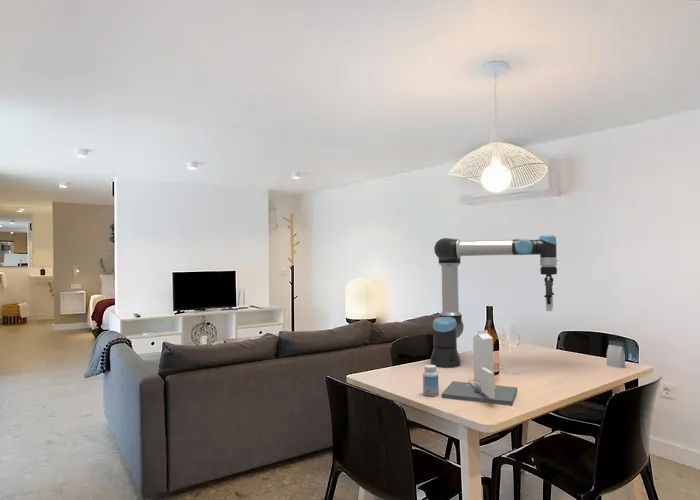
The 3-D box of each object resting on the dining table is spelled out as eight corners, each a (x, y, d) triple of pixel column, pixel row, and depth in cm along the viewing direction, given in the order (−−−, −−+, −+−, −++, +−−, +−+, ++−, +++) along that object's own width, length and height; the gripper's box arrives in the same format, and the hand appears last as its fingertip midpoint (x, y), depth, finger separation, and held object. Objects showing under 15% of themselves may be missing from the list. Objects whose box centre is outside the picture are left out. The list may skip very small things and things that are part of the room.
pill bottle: (441, 394, 185) (441, 366, 185) (430, 397, 181) (429, 368, 182) (431, 391, 190) (430, 363, 190) (420, 393, 186) (419, 365, 187)
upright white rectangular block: (464, 383, 194) (464, 358, 194) (473, 383, 194) (472, 358, 194) (487, 401, 169) (487, 373, 169) (497, 401, 169) (496, 373, 169)
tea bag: (620, 368, 223) (620, 347, 224) (606, 365, 229) (606, 345, 229) (625, 367, 225) (624, 346, 225) (611, 364, 231) (610, 344, 231)
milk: (493, 381, 204) (493, 330, 204) (483, 383, 201) (483, 331, 201) (483, 378, 209) (482, 328, 210) (473, 379, 206) (472, 330, 207)
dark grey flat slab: (441, 397, 181) (441, 393, 181) (452, 384, 199) (452, 380, 199) (511, 405, 170) (511, 400, 170) (517, 391, 188) (517, 386, 188)
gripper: (556, 266, 217) (557, 312, 216) (557, 265, 240) (558, 307, 239) (539, 267, 220) (540, 311, 220) (541, 266, 243) (542, 306, 242)
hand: (549, 309), depth 229 cm, fingers open, 13 cm apart
